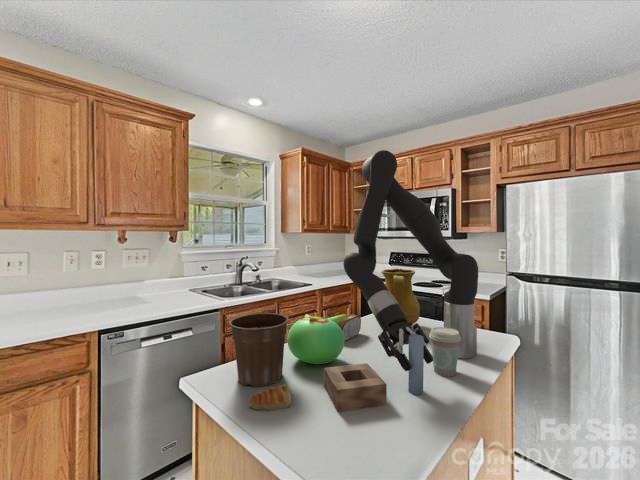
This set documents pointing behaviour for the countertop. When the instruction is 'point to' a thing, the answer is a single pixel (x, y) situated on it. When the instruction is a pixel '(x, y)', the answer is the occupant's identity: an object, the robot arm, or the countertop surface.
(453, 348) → the coffee cup
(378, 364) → the countertop surface
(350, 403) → the socket block
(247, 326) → the plant pot
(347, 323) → the tin
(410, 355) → the dowel
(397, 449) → the countertop surface
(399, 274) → the pitcher
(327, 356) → the green round piece
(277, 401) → the pastry
